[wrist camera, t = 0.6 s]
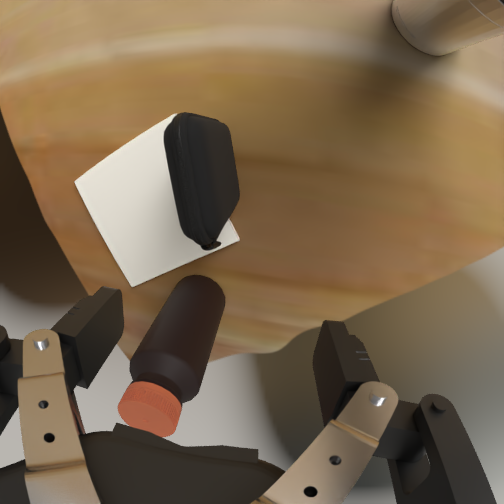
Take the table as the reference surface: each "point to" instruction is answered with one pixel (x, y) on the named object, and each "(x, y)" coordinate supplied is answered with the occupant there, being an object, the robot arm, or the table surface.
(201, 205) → the carrying case or bag
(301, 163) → the table surface
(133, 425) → the bottle
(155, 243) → the cream paper sheet
